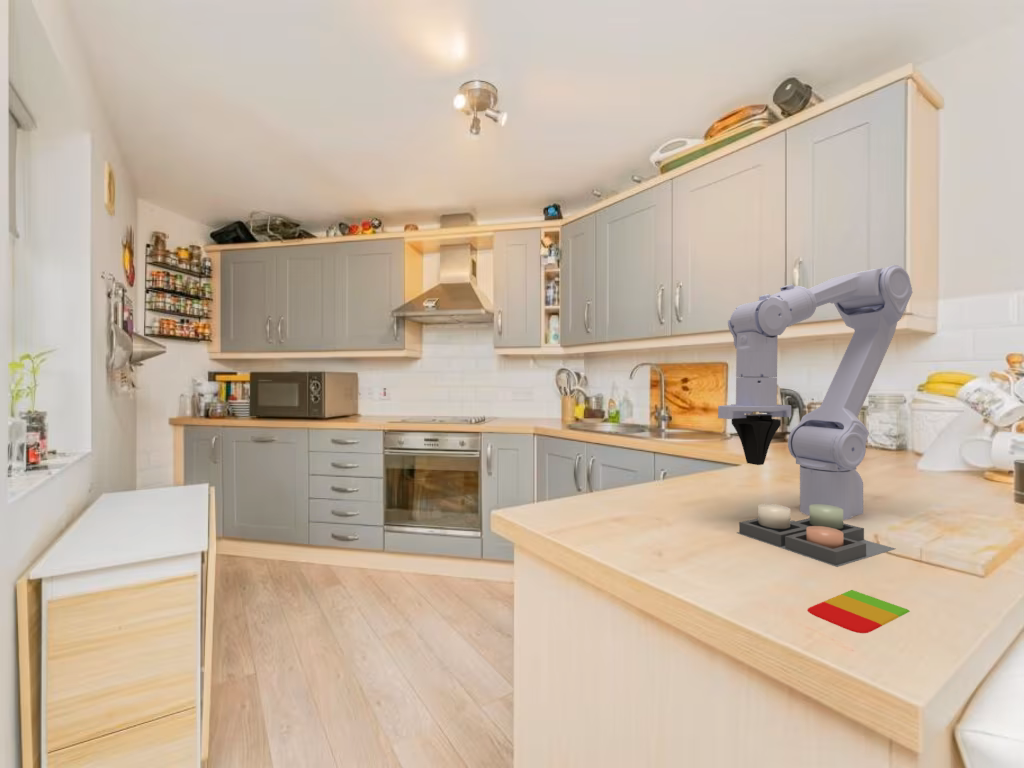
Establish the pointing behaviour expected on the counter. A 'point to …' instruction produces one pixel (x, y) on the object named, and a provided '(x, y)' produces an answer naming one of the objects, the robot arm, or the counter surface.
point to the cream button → (774, 516)
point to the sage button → (826, 516)
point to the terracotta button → (825, 536)
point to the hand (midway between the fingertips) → (755, 463)
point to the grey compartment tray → (798, 543)
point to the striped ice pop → (857, 611)
